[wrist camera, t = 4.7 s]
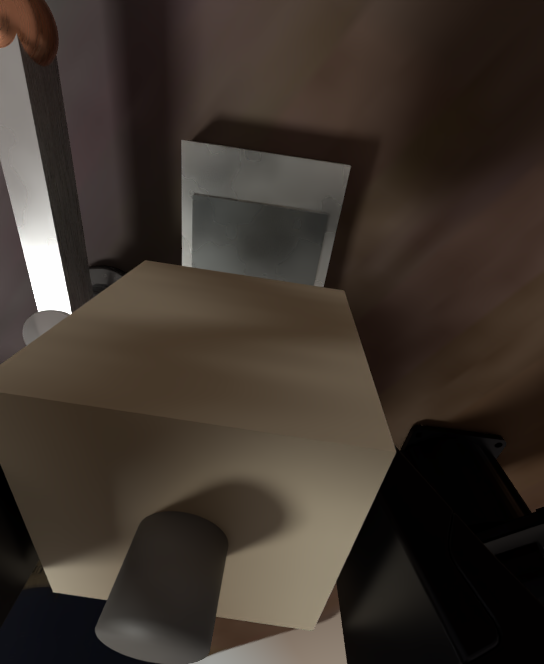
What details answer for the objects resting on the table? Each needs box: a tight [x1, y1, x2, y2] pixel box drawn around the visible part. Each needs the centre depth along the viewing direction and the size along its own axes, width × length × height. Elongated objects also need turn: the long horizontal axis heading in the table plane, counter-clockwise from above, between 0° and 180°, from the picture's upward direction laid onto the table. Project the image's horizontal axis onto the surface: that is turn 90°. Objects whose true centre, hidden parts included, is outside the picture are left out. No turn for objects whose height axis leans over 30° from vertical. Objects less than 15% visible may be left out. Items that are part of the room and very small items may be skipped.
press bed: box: [181, 140, 351, 287], centre depth 16 cm, size 7×9×2 cm
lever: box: [0, 0, 93, 346], centre depth 13 cm, size 3×14×2 cm, turn 172°
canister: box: [0, 559, 160, 664], centre depth 17 cm, size 10×10×18 cm
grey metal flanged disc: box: [89, 266, 126, 298], centre depth 18 cm, size 4×4×2 cm
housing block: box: [0, 260, 396, 664], centre depth 7 cm, size 5×5×6 cm
